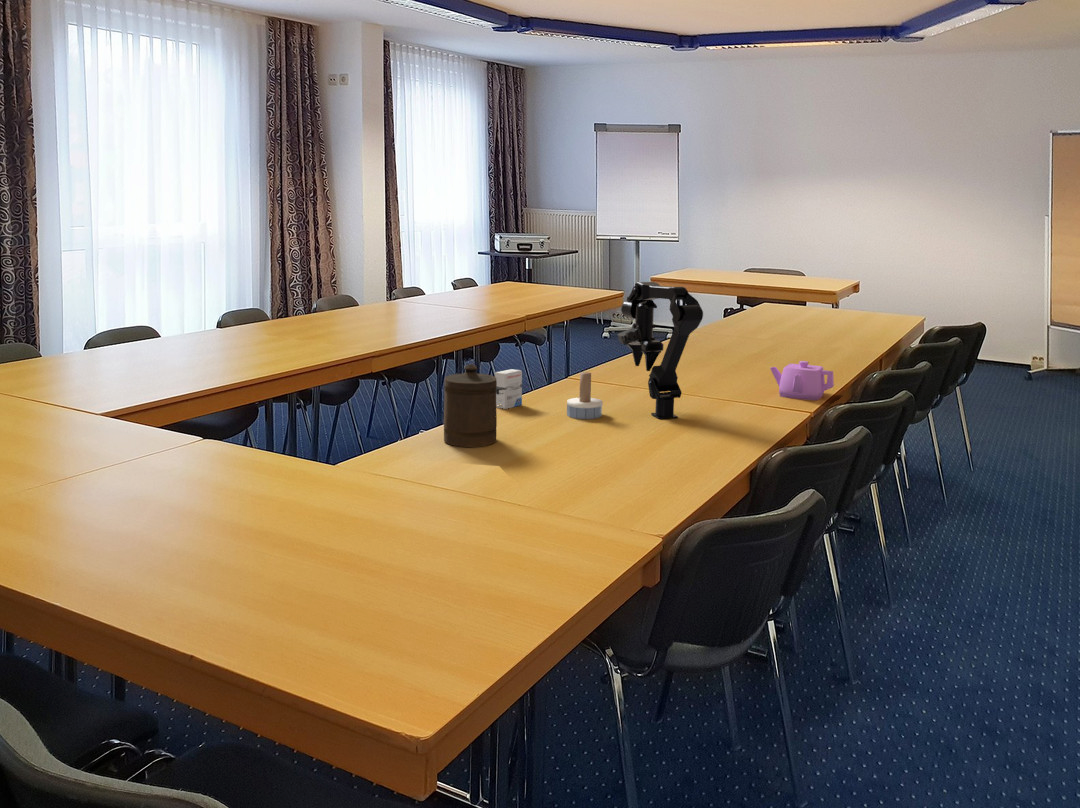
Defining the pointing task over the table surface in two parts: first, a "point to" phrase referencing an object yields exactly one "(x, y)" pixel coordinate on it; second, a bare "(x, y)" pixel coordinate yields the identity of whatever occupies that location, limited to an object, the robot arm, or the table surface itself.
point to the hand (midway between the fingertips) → (642, 368)
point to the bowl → (584, 412)
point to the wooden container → (470, 409)
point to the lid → (585, 394)
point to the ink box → (509, 388)
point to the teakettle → (803, 381)
